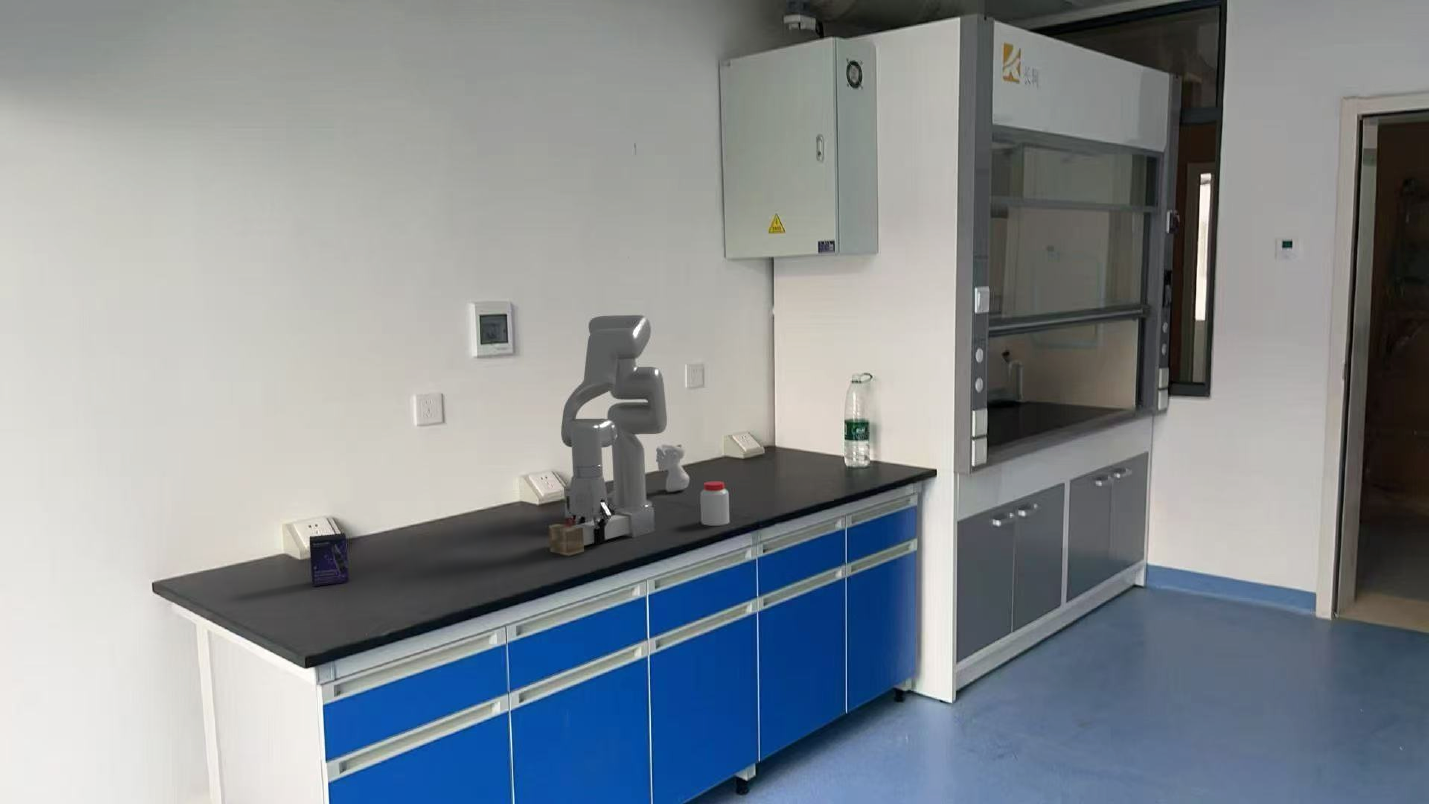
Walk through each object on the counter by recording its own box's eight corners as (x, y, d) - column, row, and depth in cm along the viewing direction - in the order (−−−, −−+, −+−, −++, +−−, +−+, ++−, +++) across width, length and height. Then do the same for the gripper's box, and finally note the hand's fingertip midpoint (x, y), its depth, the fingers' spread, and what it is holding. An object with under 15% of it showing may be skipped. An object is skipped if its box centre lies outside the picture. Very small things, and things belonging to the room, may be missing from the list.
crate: (550, 551, 252) (549, 525, 252) (565, 547, 256) (564, 521, 255) (568, 555, 248) (567, 529, 247) (584, 551, 251) (582, 525, 251)
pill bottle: (726, 525, 273) (725, 486, 272) (698, 525, 275) (697, 485, 274) (731, 519, 281) (730, 480, 280) (704, 519, 282) (703, 480, 281)
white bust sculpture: (695, 491, 321) (693, 445, 320) (665, 496, 315) (663, 449, 314) (679, 487, 329) (677, 441, 328) (649, 492, 323) (647, 445, 321)
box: (312, 587, 228) (308, 541, 227) (311, 581, 233) (308, 535, 232) (349, 582, 231) (346, 536, 230) (348, 576, 236) (344, 531, 235)
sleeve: (615, 534, 268) (614, 510, 268) (637, 528, 274) (636, 504, 274) (633, 537, 264) (631, 513, 263) (654, 531, 270) (653, 507, 269)
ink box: (564, 527, 278) (562, 485, 277) (572, 523, 283) (570, 482, 281) (592, 529, 275) (590, 486, 274) (600, 524, 280) (598, 483, 278)
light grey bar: (560, 547, 253) (559, 529, 252) (624, 529, 269) (623, 512, 268) (570, 549, 250) (569, 531, 249) (635, 531, 266) (634, 514, 266)
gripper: (554, 470, 259) (558, 539, 261) (599, 477, 247) (602, 549, 249) (577, 466, 264) (580, 533, 266) (621, 472, 253) (625, 543, 255)
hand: (591, 540), depth 258 cm, fingers open, 5 cm apart
